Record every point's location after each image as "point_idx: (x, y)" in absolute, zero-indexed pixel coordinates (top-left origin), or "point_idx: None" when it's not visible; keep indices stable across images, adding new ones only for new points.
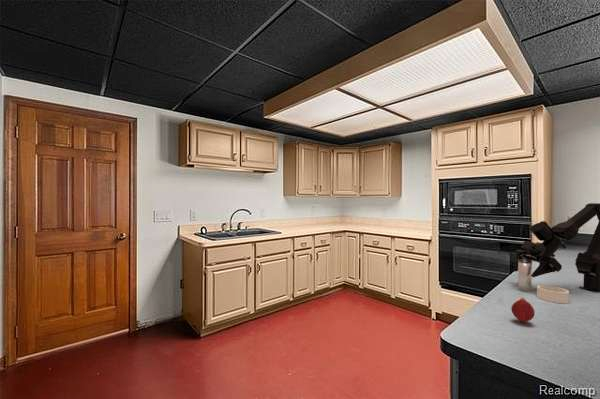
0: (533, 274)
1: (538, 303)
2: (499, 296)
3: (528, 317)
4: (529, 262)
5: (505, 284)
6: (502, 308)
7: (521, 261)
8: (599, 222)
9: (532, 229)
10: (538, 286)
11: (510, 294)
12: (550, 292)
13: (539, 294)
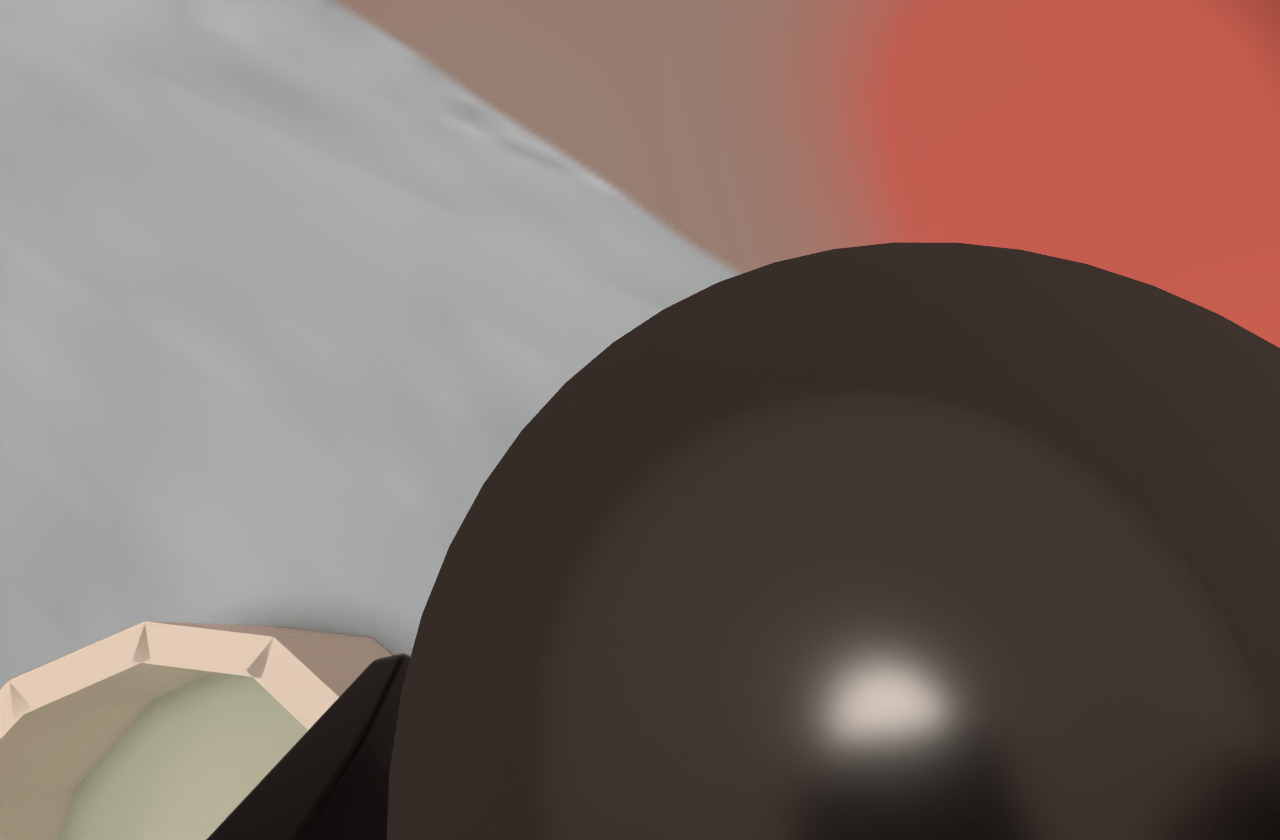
0: (333, 704)
1: (113, 459)
2: (389, 139)
3: None
4: (434, 823)
5: None
6: (42, 13)
7: (676, 325)
8: None
9: None
10: (312, 703)
11: (476, 305)
12: (1, 714)
13: (268, 629)
